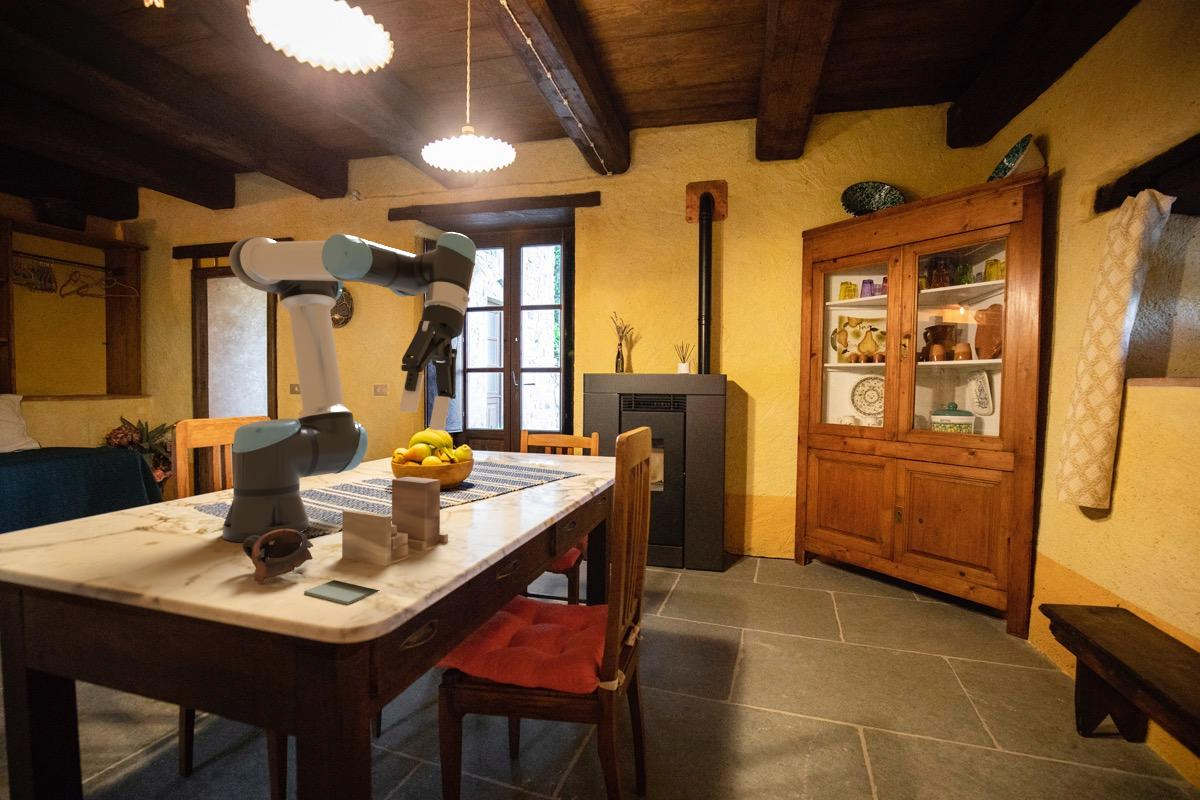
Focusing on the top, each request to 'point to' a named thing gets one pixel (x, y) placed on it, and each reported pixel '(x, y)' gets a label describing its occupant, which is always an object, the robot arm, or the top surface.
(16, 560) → the top surface
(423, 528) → the brown rectangular block
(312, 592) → the felt mat
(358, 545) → the rack
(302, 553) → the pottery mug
